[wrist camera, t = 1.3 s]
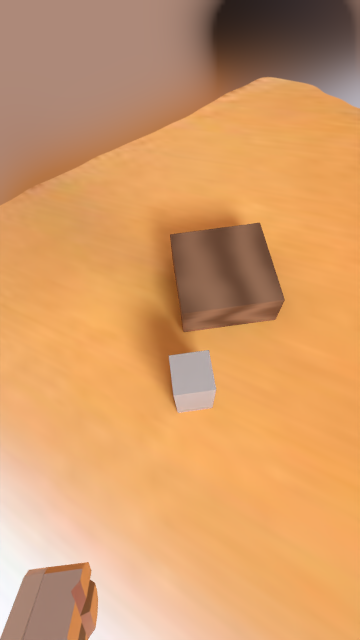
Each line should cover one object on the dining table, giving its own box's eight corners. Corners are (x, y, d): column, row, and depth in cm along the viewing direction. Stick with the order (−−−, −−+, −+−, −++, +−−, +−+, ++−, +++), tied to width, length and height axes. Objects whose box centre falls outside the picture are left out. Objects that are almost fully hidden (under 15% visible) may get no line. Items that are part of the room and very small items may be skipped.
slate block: (177, 412, 37) (173, 395, 30) (173, 379, 39) (168, 355, 32) (212, 407, 37) (216, 389, 30) (206, 374, 39) (208, 350, 32)
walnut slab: (183, 332, 42) (181, 313, 37) (172, 258, 47) (170, 234, 43) (275, 319, 42) (284, 299, 38) (253, 247, 47) (259, 222, 43)
